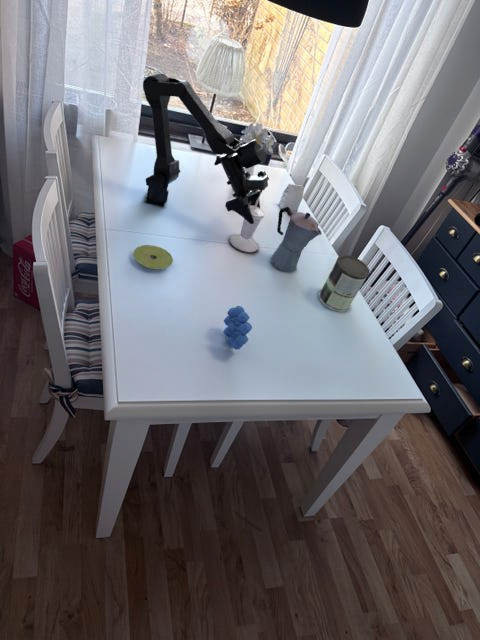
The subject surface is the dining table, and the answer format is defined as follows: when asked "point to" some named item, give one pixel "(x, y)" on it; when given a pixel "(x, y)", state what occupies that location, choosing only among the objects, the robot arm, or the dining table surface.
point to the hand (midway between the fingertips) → (256, 219)
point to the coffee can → (343, 283)
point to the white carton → (292, 197)
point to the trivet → (243, 244)
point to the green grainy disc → (153, 257)
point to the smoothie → (250, 228)
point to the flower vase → (257, 139)
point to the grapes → (237, 327)
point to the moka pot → (294, 239)
